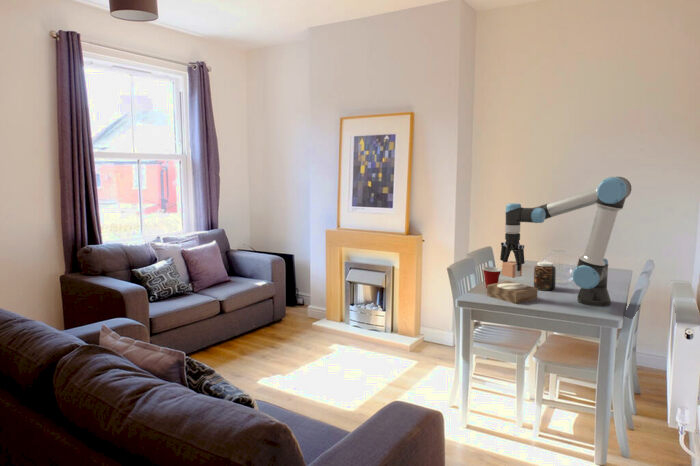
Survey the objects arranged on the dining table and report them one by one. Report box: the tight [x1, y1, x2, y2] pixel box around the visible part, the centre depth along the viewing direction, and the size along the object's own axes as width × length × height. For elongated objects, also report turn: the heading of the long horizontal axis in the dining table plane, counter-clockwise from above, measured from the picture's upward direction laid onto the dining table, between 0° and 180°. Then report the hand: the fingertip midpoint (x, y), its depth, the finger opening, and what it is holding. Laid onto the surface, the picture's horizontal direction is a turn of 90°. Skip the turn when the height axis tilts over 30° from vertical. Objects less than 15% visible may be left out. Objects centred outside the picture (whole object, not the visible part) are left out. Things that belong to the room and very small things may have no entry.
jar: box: [533, 261, 557, 292], centre depth 279 cm, size 12×12×15 cm
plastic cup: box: [482, 266, 502, 290], centre depth 282 cm, size 11×11×12 cm
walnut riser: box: [486, 280, 538, 305], centre depth 262 cm, size 20×16×6 cm
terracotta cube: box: [501, 260, 523, 279], centre depth 261 cm, size 7×7×7 cm
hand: (511, 275), depth 261 cm, fingers closed on terracotta cube, 7 cm apart
